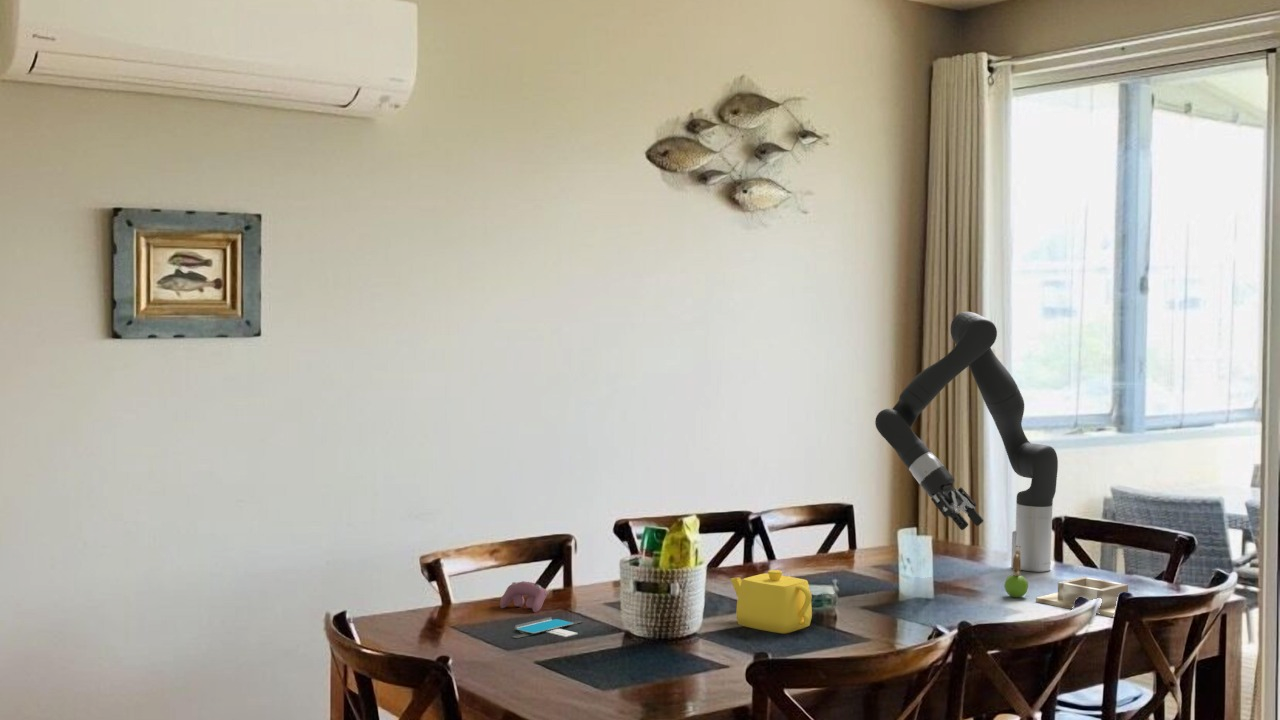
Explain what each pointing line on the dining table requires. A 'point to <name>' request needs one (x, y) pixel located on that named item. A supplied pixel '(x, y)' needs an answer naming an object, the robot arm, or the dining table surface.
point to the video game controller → (524, 588)
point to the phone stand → (545, 627)
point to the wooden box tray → (1086, 593)
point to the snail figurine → (1016, 579)
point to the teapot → (773, 602)
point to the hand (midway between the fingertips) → (973, 525)
